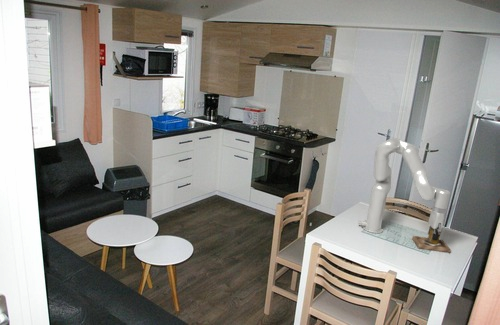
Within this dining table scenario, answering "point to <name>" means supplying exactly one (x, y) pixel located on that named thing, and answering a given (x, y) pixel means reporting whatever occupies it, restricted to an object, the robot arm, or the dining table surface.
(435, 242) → the condiment
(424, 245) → the serving tray
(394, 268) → the dining table surface
